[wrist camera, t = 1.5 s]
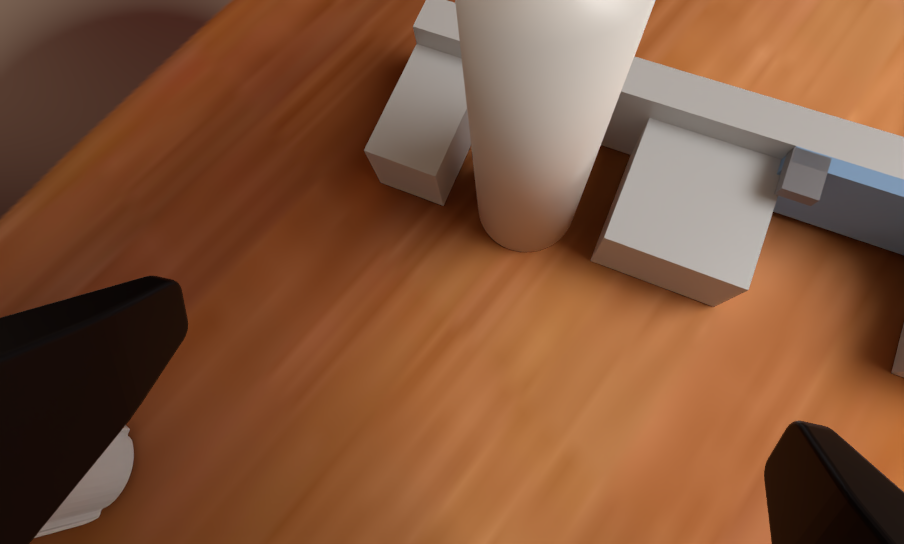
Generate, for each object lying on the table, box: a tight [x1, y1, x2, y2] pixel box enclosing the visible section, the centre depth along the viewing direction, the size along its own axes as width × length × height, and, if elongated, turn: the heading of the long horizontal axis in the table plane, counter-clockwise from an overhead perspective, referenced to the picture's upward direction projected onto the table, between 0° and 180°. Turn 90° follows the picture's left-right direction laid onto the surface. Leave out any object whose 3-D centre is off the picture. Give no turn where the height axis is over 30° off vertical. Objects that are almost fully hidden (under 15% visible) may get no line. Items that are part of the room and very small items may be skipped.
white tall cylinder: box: [455, 0, 655, 252], centre depth 16 cm, size 4×4×14 cm
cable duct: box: [364, 0, 904, 378], centre depth 20 cm, size 24×6×4 cm, turn 67°
